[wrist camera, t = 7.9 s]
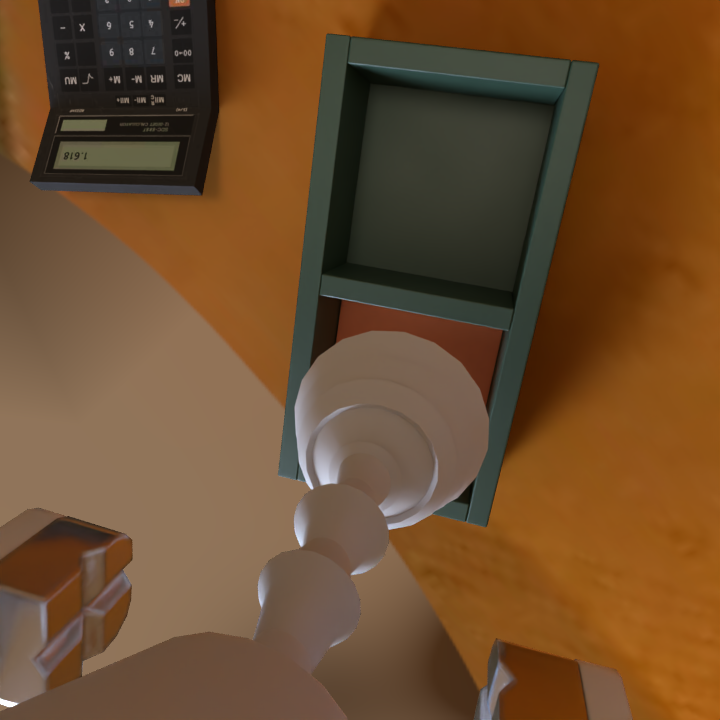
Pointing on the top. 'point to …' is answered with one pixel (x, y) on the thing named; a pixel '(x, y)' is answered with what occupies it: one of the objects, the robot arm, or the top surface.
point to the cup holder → (437, 215)
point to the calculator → (128, 95)
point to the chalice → (312, 541)
